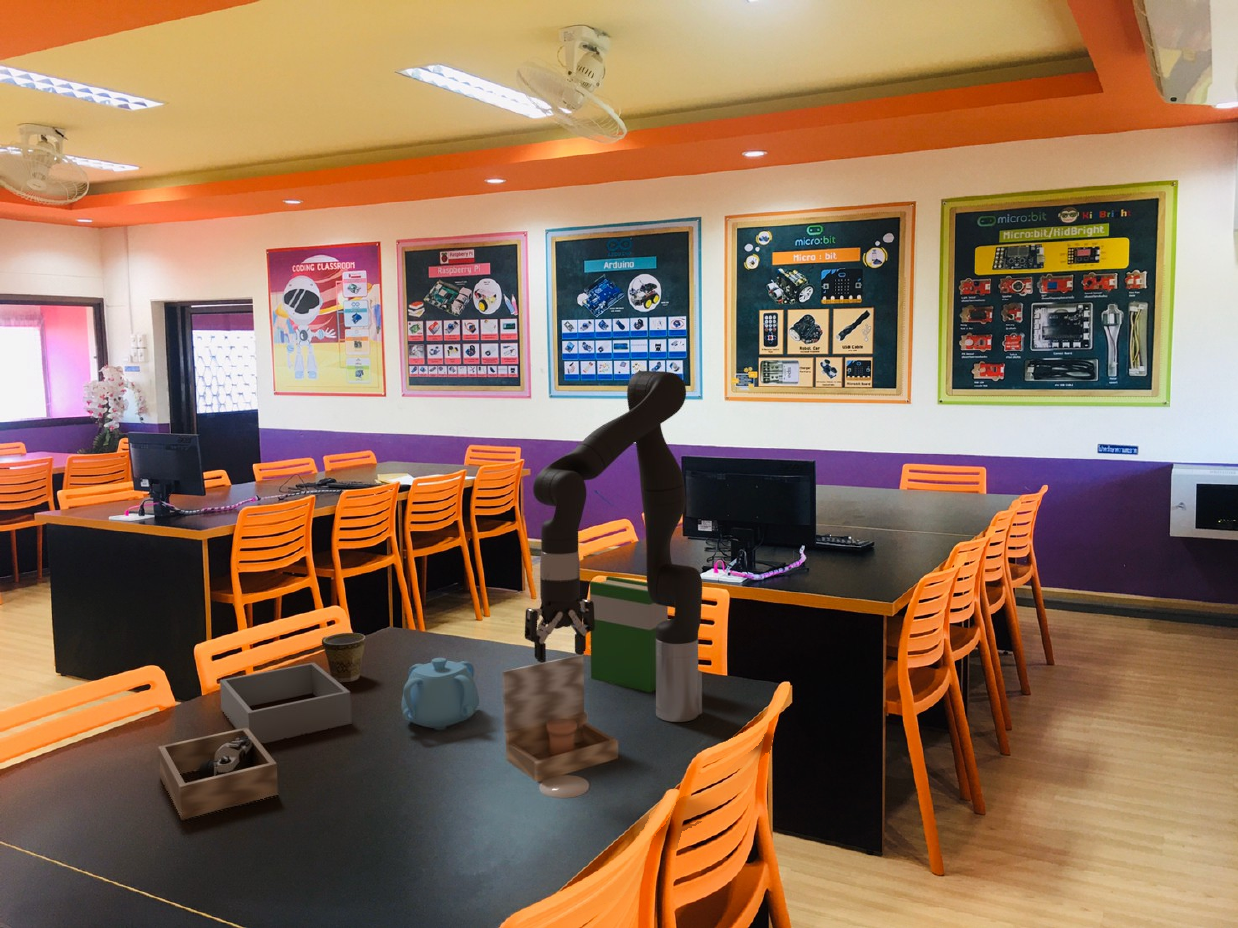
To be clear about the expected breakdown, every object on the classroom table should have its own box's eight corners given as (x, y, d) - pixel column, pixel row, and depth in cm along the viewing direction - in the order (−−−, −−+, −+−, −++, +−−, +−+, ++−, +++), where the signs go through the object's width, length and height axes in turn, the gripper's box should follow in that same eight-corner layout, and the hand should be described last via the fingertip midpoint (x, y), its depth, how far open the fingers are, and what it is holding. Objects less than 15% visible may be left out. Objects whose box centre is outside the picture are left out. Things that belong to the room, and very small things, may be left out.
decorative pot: (473, 734, 199) (471, 671, 197) (395, 735, 198) (393, 671, 197) (483, 706, 215) (481, 647, 213) (411, 707, 215) (409, 648, 213)
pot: (567, 750, 189) (566, 716, 188) (583, 760, 184) (582, 725, 183) (541, 757, 185) (541, 722, 185) (557, 767, 181) (556, 732, 180)
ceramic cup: (375, 675, 236) (373, 636, 235) (344, 687, 228) (342, 646, 227) (339, 667, 243) (337, 628, 242) (307, 678, 235) (305, 638, 234)
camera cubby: (248, 756, 188) (247, 727, 188) (278, 795, 171) (276, 763, 170) (159, 777, 179) (158, 746, 179) (181, 820, 162) (179, 786, 161)
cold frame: (580, 738, 196) (579, 652, 194) (618, 760, 185) (617, 670, 183) (502, 759, 186) (500, 669, 184) (537, 784, 175) (535, 689, 173)
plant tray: (315, 691, 226) (314, 662, 225) (351, 723, 205) (350, 691, 204) (221, 710, 214) (219, 680, 213) (250, 746, 193) (248, 713, 192)
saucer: (572, 774, 179) (572, 771, 179) (598, 791, 172) (598, 788, 171) (530, 786, 174) (530, 783, 174) (555, 805, 166) (555, 801, 166)
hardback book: (591, 678, 233) (589, 581, 230) (609, 670, 239) (608, 576, 236) (650, 692, 222) (649, 591, 220) (667, 683, 228) (667, 585, 226)
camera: (215, 771, 182) (211, 727, 180) (257, 769, 183) (253, 725, 181) (192, 808, 169) (187, 761, 167) (237, 805, 170) (233, 758, 168)
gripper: (581, 566, 188) (581, 647, 189) (517, 575, 180) (518, 659, 181) (602, 573, 182) (602, 656, 183) (537, 582, 174) (538, 669, 175)
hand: (560, 657), depth 182 cm, fingers open, 8 cm apart
